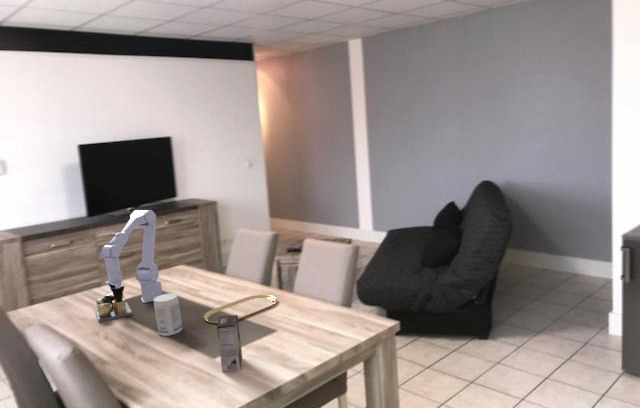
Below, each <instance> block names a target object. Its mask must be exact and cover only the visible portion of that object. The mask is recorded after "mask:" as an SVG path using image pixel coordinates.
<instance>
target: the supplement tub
mask: <svg viewBox="0 0 640 408" xmlns="http://www.w3.org/2000/svg"><path fill="white" fill-rule="evenodd" d="M153 307H154V314H155V320H156V327H157V332H158V334H159V335H160V336H163V337H169V336H174V335H176V334H179V333H180V332H182V330H183V322H182V315H181V308H180V303H179V297H178V294H176V293H163V295H160V296H158V297H156V298H154V301H153Z"/></svg>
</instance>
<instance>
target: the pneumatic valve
mask: <svg viewBox="0 0 640 408" xmlns="http://www.w3.org/2000/svg"><path fill="white" fill-rule="evenodd" d="M122 299H124V300H125V297H124V294H123V295H122ZM114 300H116V299H115V297H114V295H113V292H110V293H109V294H106V295H104V296H103V297H102V298H98V299H96V300H95V302H96V307H97V306H98V305H100V304H103V303H112V306H113V302H112V301H114Z"/></svg>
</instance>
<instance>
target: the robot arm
mask: <svg viewBox="0 0 640 408" xmlns="http://www.w3.org/2000/svg"><path fill="white" fill-rule="evenodd" d="M129 218H130V219H129V220H128V221H127V222H126V224H125V225H124V227H123V228H122V230H121V231H118V232H116V233H115V234H114V236H113V238H112V239H111V240H110V241H109V242H108V244H105V245H103V247H102V248H101V252H100V255H101V257H103V260H104V262H105V267H106V274H107V279H108V280H107V281H105V284H106V285H108V287H109V288H110V291H111V293H113V295H114V297H115V299H116V301H117V303H119V302H122V295H123V296H124V290H125V285H122V283H123V281H124V280H123V277H122V276H123V275H122V271H121V270H122V269H121V264H120V257H119V256H121V254H122V250H123V247H124V246H125V245H126V243H127V242H128V241H129V235H130V234H131V233H132V232H133V231H134V230H135V229H136V228H137V227H138V226H139V227H141V229H142V230H143V238H142V253H141V262H140V263H139V264H138V265H137V267H136V271H135V279H136V280H137V281H138V283H139V284H140V289H141V290H140V291H141V298H140V300H141V302H142V303H143V304H145V303H150V302H154V298H156V297H158V296H160V295H164V293H163V287H162V283H161V280H160V279H158V278H159V270H158V265H157V264H155V262H154V258H155V247H156V246H155V244H156V243H155V241H156V231H157V230H156V229H157V227H156V226H157V224H156V223H157V222H156V221H157V215H156V213H155V212H154V211H153V210H152V209H144V210H143V209H141V210H140V209H135V210H133V211H132V213H131V214H130V215H129Z"/></svg>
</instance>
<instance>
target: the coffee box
mask: <svg viewBox="0 0 640 408" xmlns="http://www.w3.org/2000/svg"><path fill="white" fill-rule="evenodd" d="M238 318H239V316H238V314H235V315H223V316H219V317H218V321H217V322H218V324H216V330H217V338H218V346H219V354H220V356H219V357H220V364H221V373H226V372H225V371H229V372H234V371H235V372H236V371H237V372H238V371H241V370H242V363H243V352H242V351H243V350H242V343H241V335H240V325H239V320H238Z"/></svg>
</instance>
